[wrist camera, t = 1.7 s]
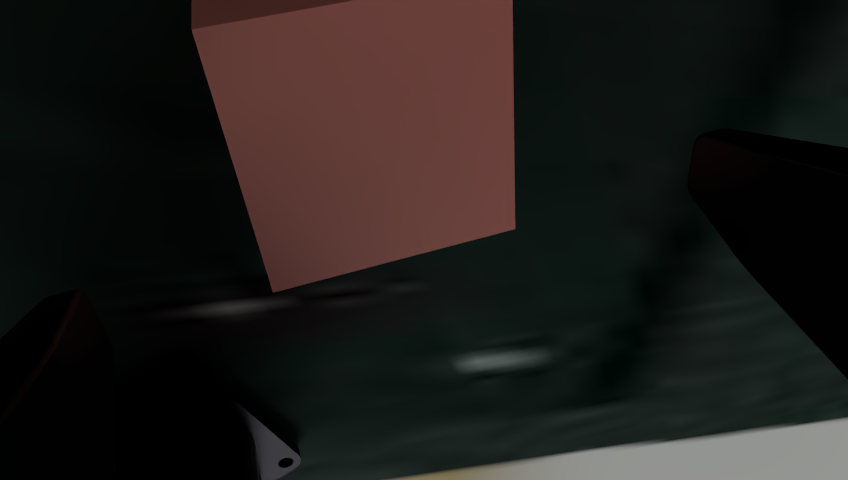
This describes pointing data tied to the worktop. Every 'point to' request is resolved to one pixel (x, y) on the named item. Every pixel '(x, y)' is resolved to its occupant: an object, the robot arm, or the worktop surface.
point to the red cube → (363, 125)
